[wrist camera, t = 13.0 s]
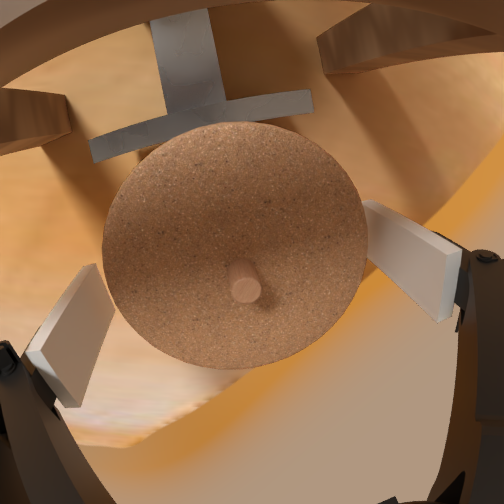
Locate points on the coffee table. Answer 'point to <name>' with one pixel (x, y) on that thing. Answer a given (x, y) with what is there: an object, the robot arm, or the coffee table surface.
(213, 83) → the cube and plate dumbbell
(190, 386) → the coffee table surface
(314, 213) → the lidded jar
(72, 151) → the coffee table surface
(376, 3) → the bridge
